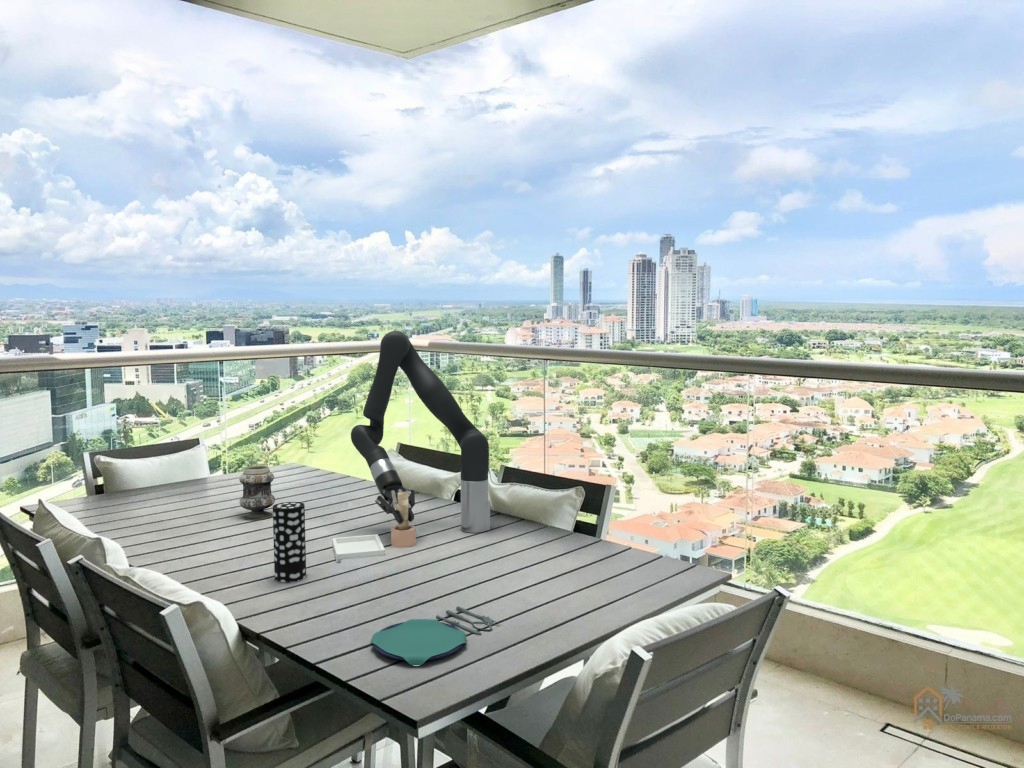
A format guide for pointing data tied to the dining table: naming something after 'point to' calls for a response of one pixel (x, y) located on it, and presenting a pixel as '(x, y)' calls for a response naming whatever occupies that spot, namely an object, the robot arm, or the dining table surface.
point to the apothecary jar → (257, 492)
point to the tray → (357, 547)
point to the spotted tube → (289, 541)
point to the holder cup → (403, 536)
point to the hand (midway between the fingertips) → (406, 521)
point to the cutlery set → (424, 638)
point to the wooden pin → (403, 510)
